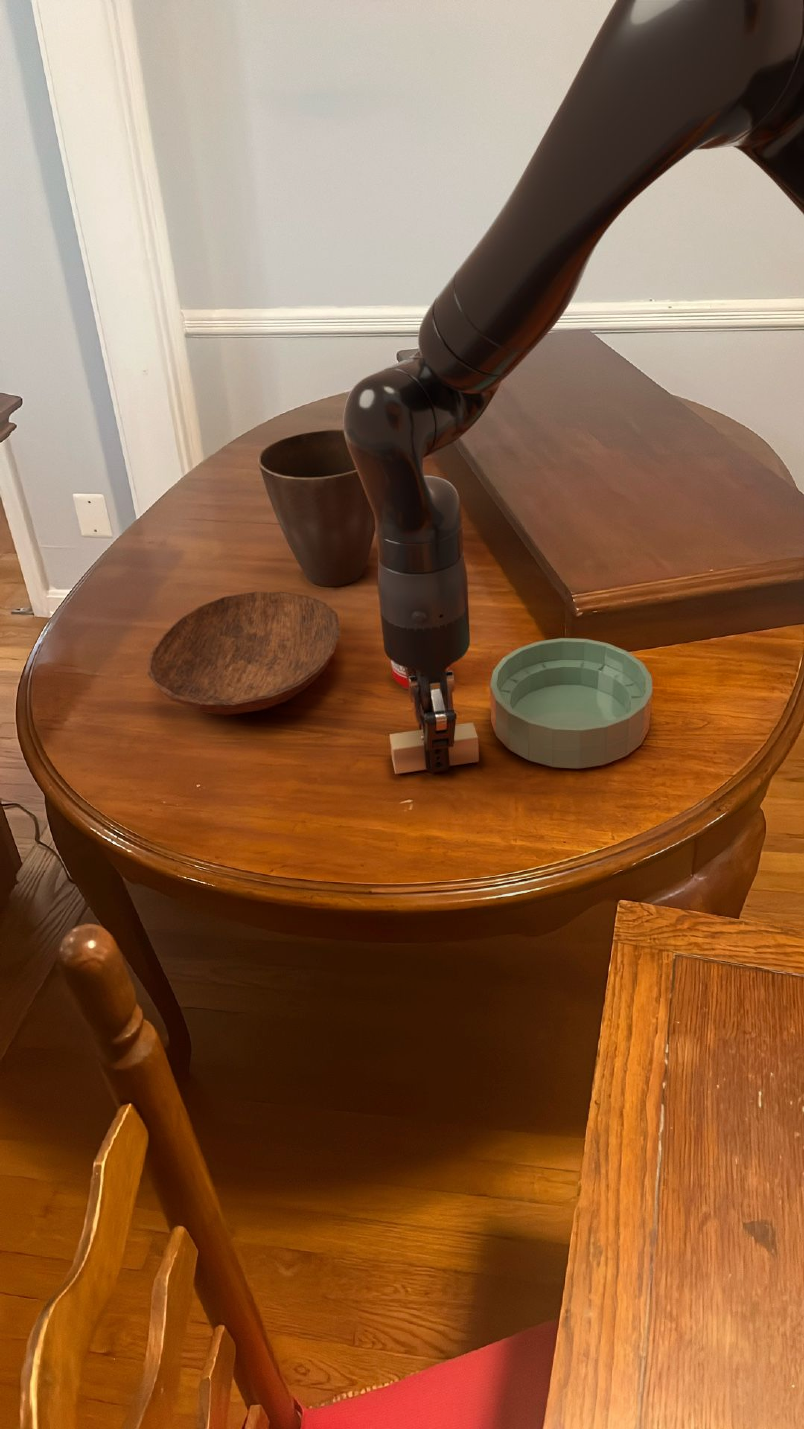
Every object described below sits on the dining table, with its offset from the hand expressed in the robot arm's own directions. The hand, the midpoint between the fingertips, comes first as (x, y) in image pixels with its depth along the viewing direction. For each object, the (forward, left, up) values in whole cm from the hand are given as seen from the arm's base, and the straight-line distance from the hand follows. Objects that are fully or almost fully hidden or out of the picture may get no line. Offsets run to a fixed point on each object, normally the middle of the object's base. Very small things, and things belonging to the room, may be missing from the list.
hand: (435, 759), depth 94 cm
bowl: (+17, -18, -1) cm, 25 cm away
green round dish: (-14, -3, 0) cm, 14 cm away
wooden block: (0, 0, 0) cm, 0 cm away
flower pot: (+6, -40, -1) cm, 41 cm away
